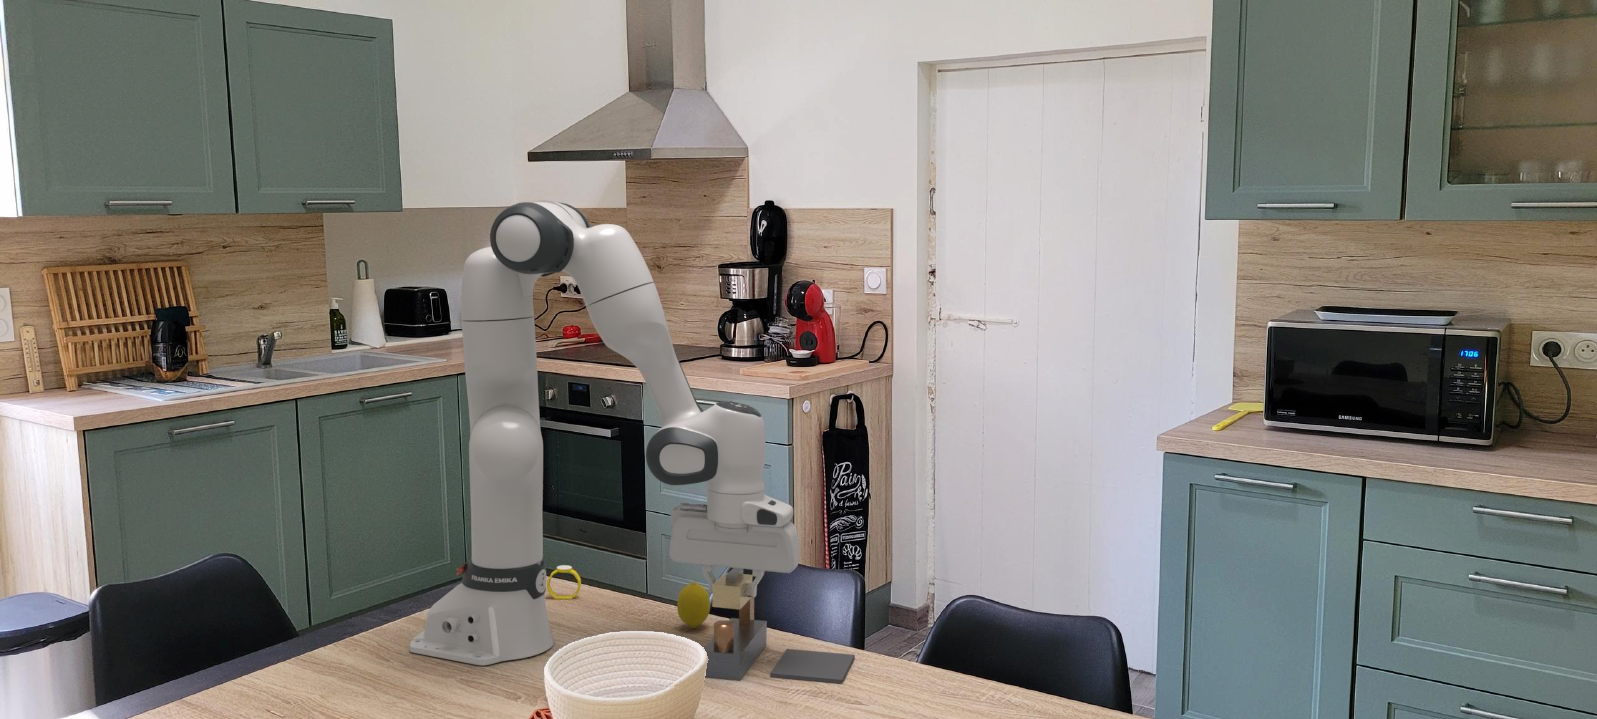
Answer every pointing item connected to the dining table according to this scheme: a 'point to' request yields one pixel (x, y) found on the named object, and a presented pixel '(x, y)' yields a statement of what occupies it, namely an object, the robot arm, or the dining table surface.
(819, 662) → the rubber mat
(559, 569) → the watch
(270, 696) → the dining table surface
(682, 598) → the lemon
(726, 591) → the lever cap
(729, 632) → the plane body
